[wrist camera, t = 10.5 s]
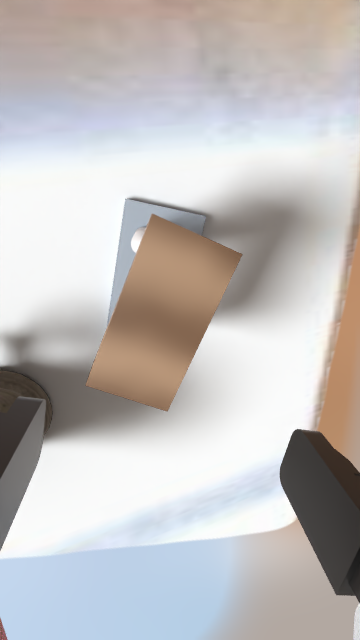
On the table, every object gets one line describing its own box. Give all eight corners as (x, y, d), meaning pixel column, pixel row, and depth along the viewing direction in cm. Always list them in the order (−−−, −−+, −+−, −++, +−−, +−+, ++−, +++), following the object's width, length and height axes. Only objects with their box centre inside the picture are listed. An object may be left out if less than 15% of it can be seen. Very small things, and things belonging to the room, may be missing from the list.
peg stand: (126, 199, 32) (117, 191, 22) (204, 216, 33) (231, 217, 23) (105, 339, 36) (90, 389, 26) (175, 349, 38) (187, 401, 27)
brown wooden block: (151, 213, 22) (152, 213, 19) (228, 248, 24) (242, 254, 20) (93, 362, 25) (85, 385, 22) (164, 386, 26) (167, 411, 23)
